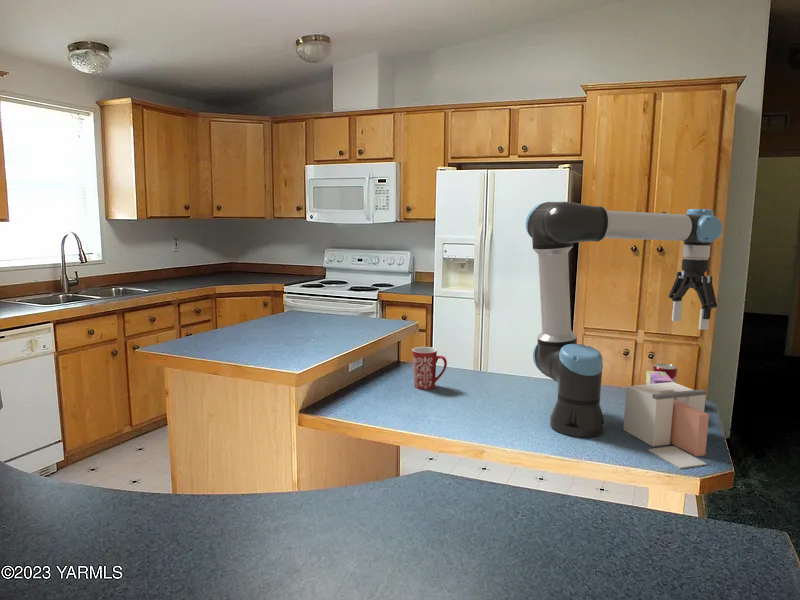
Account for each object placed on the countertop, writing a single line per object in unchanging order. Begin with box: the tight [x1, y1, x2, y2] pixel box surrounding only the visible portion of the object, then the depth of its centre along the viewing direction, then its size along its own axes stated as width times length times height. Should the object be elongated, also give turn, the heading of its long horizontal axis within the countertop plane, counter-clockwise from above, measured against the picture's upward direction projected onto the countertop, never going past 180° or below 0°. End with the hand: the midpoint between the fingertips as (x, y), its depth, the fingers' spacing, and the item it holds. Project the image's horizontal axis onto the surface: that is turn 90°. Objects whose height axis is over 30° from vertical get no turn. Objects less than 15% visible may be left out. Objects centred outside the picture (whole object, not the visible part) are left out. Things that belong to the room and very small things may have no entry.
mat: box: [648, 445, 707, 470], centre depth 144 cm, size 8×11×1 cm
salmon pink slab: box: [670, 399, 710, 457], centre depth 151 cm, size 3×12×11 cm, turn 16°
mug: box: [411, 346, 448, 390], centre depth 199 cm, size 13×9×14 cm
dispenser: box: [623, 382, 707, 447], centre depth 158 cm, size 16×12×14 cm
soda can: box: [652, 362, 678, 383], centre depth 187 cm, size 7×7×12 cm
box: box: [645, 370, 674, 384], centre depth 177 cm, size 10×6×12 cm, turn 168°
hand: (689, 325), depth 181 cm, fingers open, 13 cm apart
